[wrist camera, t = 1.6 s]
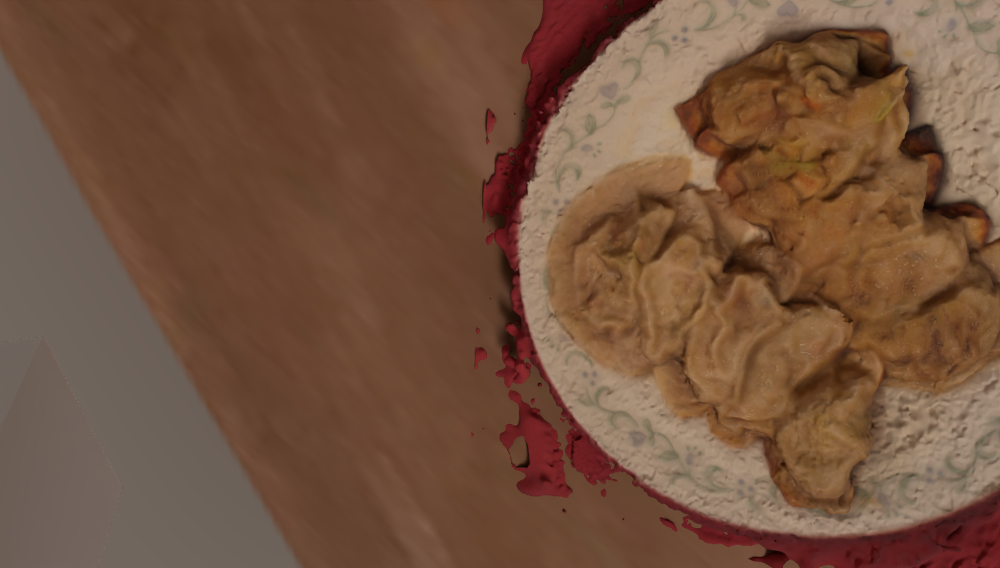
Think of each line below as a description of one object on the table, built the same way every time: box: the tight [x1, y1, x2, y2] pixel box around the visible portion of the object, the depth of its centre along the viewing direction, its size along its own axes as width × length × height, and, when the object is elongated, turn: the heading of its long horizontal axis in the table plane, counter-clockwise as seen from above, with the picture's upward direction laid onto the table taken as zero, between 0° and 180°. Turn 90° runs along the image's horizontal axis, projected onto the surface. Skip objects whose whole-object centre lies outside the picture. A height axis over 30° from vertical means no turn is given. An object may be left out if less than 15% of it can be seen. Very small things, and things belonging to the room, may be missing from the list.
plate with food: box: [471, 0, 1000, 568], centre depth 35 cm, size 25×26×4 cm
